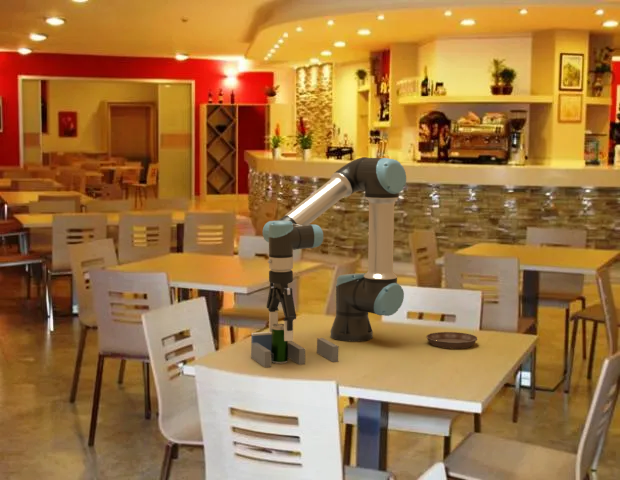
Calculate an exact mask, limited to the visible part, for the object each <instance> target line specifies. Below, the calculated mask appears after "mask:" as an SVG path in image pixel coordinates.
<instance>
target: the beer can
mask: <svg viewBox="0 0 620 480" xmlns="http://www.w3.org/2000/svg"><path fill="white" fill-rule="evenodd" d="M288 361H289V358H288V341H284V323H278V324H273V325H272V333H271V364H275V365H285V364H287V363H288Z"/></svg>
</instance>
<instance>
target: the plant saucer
mask: <svg viewBox="0 0 620 480" xmlns="http://www.w3.org/2000/svg"><path fill="white" fill-rule="evenodd" d="M426 339H427V341H428V342H429V343H430V344H431V345H432V346H434V347H436V346H438V347H437V348H441V347H444V348H443V349H449V348H453V350H455V349H457V350H459V349H460V348H461V349H467V348H470V347H472V346H473V345H474V344H475V343H476V342H477V340H478V336H476V335H474V334H470V333H466V332H465V333H464V332H457V331H456V332H455V331H454V332H453V331H442V332H441V331H440V332H433V333H432V332H431V333H429V334H427V335H426ZM436 340H437V341H436Z"/></svg>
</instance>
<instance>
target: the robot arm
mask: <svg viewBox="0 0 620 480" xmlns="http://www.w3.org/2000/svg"><path fill="white" fill-rule="evenodd" d="M406 183H407V175H406V169H405V168H404V166H403V165H402V164H401V162H400V161H398V160H397V159H394V158H390V157H389V158H388V157H367V156H366V157H365V156H364V157H360V158H358V157H357V158H356V159H353V160H352V161H350V162H348V163H346V164H345V165H343V166H341V167H340V168H339V169H337V170H336V171H335V172H333V173H332V174H331V175H330V179H329V180H328V181H327V182H325V183H324V184H323V185H322V186H320V187H319V188H318V189H316V191H314V192H312V193H311V194H310V195H309V196H307V197H306V198H305V199H304V200H302V201H300V202H299V204H297V205H296V206H295V207H293V208H292V209H291V210H290V211H288V212H287V213H286V214H284V215H283V216H281V218H280V219H278V220H269V221H267V222H266V223H265V224H264V226H263V228H262V236H263V237H262V238H263V240H265V242H267V243H268V260H267V263H268V268H269V271H268V282H269V291H268V297H267V301H266V309H267V310H268V312H269V313H268V314H269V315H268V316H269V317H268V320H269V321H268V322H269V324H268V325H269V326H268V329H269V330H268V332H272V325H273V324H279V314H278V313H279V312H278V311H279V305H280V304H281V307H282V312H283V316H284V318H283V324H284V341H294V320H297V314H296V308H295V302H294V296H293V288H292V287H289V286H288V285H289V284H291V283H293V281H294V272H293V269H294V255H293V254H294V251H297V250H303V249H314V248H318V247H320V246H321V245H322V244H323V242H324V231H323V229H322V228H321V226H320V225H318V224H311V223H313V222H314V221H315V220H317V218H319V217H320V216H322V215H323V214H324V213H325V212H327V211H328V210H329V209H331V208H332V207H333V206H334V205H335V204H337V203H338V202H339V201H340V200H342V199H343V198H344V197H347V198H349V197H350V196H352V194H354V193H357V192H364V197H365V199H366V200H367V201H368V254H367V255H368V257H367V258H368V261H367V262H368V263H367V272H365V273H362V272H360V273H359V272H358V273H346V274H340V275H338V276H337V278H336V285H335V287H336V288H335V316H334V320H333V323H332V326H331V329H330V338H331V339H334V340H338V341H341V342H342V341H344V342H364V341H370V340H371V339H373V333H374V332H373V329H372V324H371V322H370V318H369V313H371V314H373V315H374V314H375V315H377V316H385V317H386V316H387V317H389V316H393V315H394V314H396V313H397V312H398V311H399V309H400V308H401V307H402V305H403V302H404V298H405V292H404V288H402V285H401V284H399V283H398V276H397V274H396V273H394V234H395V231H394V230H395V229H394V227H395V203H396V201H397V200H398V199H399V198H400V197H399V196H400V193H401V192H402V191H403V190H404V189H405V186H406Z"/></svg>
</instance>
